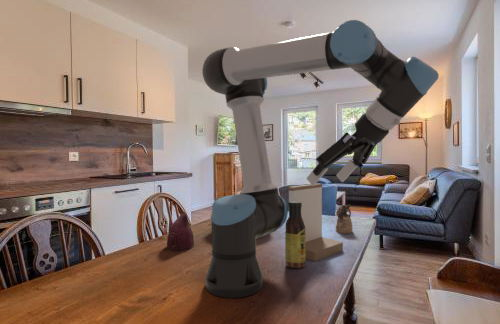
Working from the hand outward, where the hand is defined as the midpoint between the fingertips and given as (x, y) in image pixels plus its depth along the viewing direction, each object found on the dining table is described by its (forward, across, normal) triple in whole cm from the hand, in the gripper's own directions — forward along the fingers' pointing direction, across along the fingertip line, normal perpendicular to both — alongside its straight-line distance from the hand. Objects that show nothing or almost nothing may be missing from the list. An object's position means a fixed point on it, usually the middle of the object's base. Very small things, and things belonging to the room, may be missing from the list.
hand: (325, 180), depth 83 cm
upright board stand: (+30, +15, -9) cm, 34 cm away
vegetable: (+56, -18, +18) cm, 62 cm away
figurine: (+36, +46, -3) cm, 58 cm away
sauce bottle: (+27, 0, -11) cm, 30 cm away
